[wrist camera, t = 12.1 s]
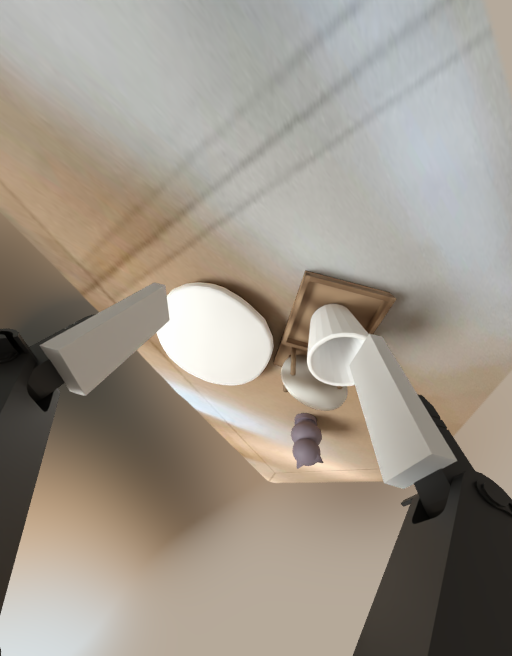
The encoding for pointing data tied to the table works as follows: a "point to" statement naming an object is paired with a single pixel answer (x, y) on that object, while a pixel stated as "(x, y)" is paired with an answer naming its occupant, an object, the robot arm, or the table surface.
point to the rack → (294, 343)
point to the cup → (334, 344)
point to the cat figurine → (306, 440)
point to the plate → (215, 334)
